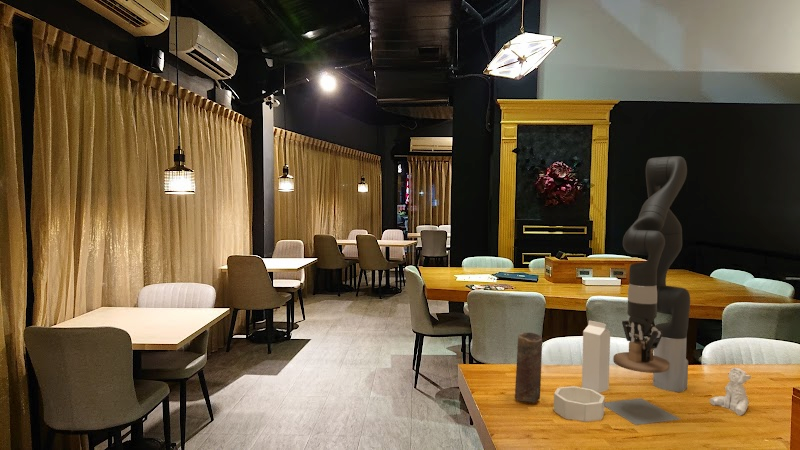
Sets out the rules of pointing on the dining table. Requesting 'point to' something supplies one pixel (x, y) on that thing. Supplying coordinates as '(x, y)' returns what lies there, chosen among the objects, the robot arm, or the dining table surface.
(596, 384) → the milk
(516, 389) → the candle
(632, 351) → the lid
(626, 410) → the mat
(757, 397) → the dining table surface
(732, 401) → the sitting furry creature
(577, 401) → the bowl
